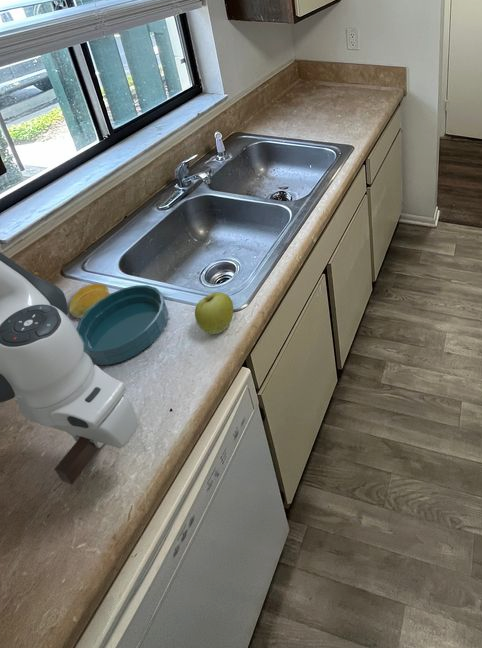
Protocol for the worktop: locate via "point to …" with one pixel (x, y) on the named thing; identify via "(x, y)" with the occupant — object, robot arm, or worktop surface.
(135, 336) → the bowl
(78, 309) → the bread roll
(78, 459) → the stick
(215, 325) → the apple
